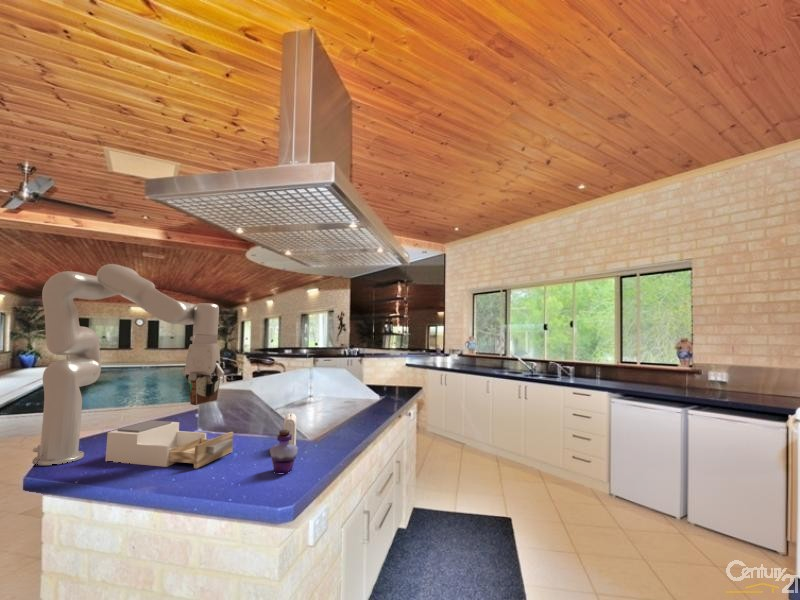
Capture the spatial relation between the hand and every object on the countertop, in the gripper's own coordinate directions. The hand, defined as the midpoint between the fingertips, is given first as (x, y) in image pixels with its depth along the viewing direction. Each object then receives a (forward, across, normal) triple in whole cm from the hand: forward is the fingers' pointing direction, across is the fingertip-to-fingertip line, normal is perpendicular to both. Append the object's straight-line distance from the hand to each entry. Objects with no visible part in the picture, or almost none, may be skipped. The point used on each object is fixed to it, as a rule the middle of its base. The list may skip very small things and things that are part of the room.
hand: (201, 394), depth 136 cm
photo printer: (+21, +23, +18) cm, 36 cm away
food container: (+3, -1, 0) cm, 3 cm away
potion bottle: (+21, +32, -4) cm, 38 cm away
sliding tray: (+20, +2, 0) cm, 20 cm away
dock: (+21, -15, 0) cm, 25 cm away
